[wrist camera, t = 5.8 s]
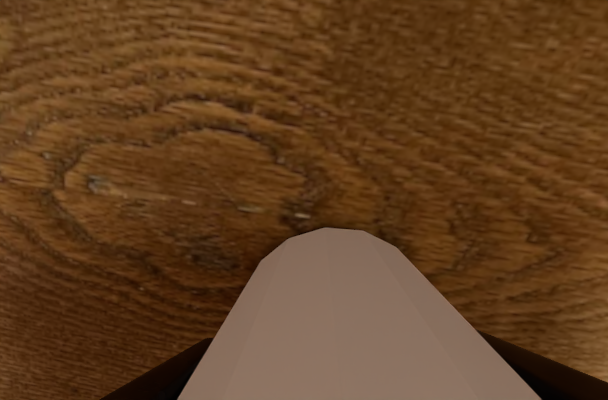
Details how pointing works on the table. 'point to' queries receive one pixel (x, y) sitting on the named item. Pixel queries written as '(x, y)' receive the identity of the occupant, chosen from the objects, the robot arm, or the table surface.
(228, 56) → the table surface
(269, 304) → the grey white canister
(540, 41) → the table surface
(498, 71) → the table surface
